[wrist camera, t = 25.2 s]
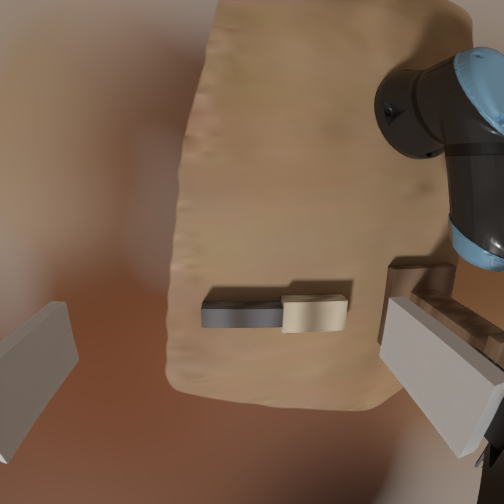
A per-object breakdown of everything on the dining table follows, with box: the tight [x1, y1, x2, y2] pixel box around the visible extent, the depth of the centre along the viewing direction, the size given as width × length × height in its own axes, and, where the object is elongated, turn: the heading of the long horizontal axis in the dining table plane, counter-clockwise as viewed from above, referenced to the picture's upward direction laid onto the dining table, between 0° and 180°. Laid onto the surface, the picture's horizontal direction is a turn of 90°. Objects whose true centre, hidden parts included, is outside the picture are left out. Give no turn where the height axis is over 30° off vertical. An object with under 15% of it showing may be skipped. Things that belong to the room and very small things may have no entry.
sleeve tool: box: [201, 294, 348, 333], centre depth 47 cm, size 22×5×3 cm, turn 89°
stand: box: [377, 264, 504, 369], centre depth 37 cm, size 16×14×28 cm
